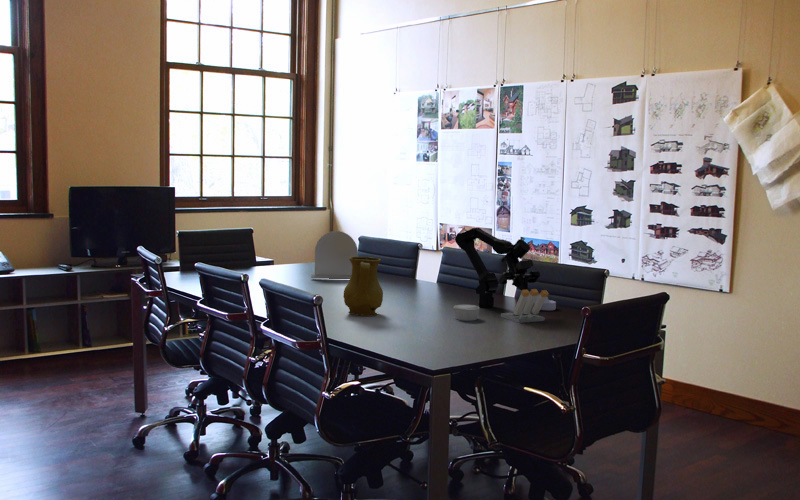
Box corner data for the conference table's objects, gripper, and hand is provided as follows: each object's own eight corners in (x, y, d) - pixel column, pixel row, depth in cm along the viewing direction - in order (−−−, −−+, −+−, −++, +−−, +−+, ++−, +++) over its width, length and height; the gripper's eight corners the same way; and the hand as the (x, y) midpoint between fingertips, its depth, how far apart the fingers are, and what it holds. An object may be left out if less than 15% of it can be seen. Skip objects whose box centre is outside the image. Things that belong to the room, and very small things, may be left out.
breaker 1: (512, 314, 321) (522, 289, 314) (517, 313, 322) (527, 289, 315) (514, 317, 320) (524, 292, 312) (519, 317, 321) (529, 292, 314)
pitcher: (390, 313, 332) (391, 256, 329) (368, 320, 315) (369, 260, 313) (356, 309, 340) (357, 253, 337) (334, 315, 323) (334, 257, 321)
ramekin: (476, 322, 316) (476, 309, 315) (450, 320, 319) (450, 308, 318) (481, 317, 326) (482, 305, 326) (456, 315, 330) (456, 303, 329)
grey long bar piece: (521, 313, 323) (531, 289, 316) (526, 313, 324) (536, 288, 317) (523, 316, 322) (533, 292, 314) (528, 316, 323) (538, 292, 316)
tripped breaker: (529, 312, 325) (541, 290, 317) (534, 312, 326) (546, 290, 318) (532, 316, 324) (543, 293, 316) (537, 315, 325) (548, 293, 317)
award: (359, 278, 436) (360, 230, 433) (361, 280, 427) (361, 232, 424) (311, 278, 433) (311, 230, 430) (311, 280, 424) (311, 231, 421)
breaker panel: (500, 316, 328) (500, 312, 328) (525, 314, 334) (525, 311, 334) (518, 322, 316) (519, 318, 316) (544, 320, 321) (544, 316, 321)
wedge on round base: (532, 310, 345) (558, 310, 348) (533, 296, 344) (559, 295, 347) (524, 307, 353) (550, 306, 356) (525, 293, 353) (551, 292, 356)
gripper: (503, 254, 328) (516, 282, 319) (539, 252, 336) (553, 281, 327) (493, 269, 336) (505, 298, 327) (528, 268, 344) (541, 296, 335)
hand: (526, 292), depth 329 cm, fingers closed
